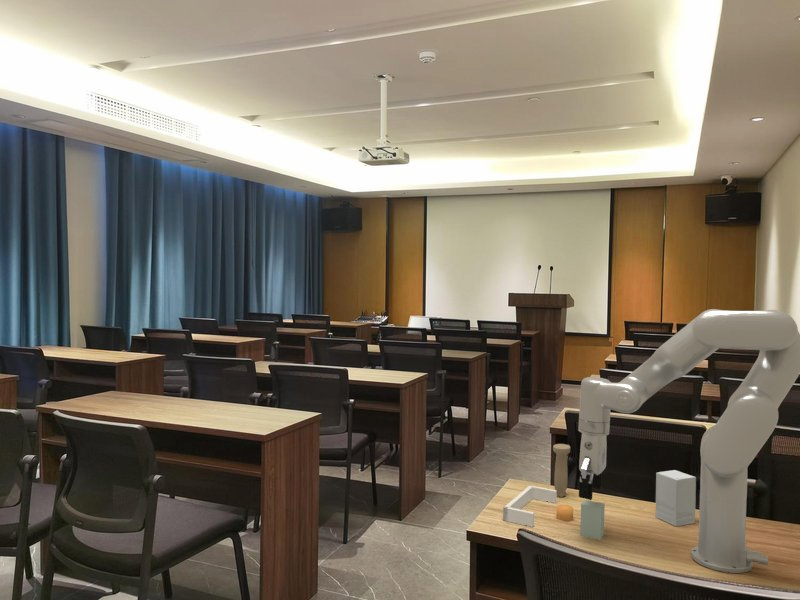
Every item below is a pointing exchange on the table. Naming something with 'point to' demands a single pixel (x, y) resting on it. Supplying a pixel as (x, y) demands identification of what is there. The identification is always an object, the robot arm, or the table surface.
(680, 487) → the supplement box
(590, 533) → the grey tall block
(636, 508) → the table surface
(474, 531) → the table surface
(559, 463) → the handle
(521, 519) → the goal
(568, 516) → the puck
